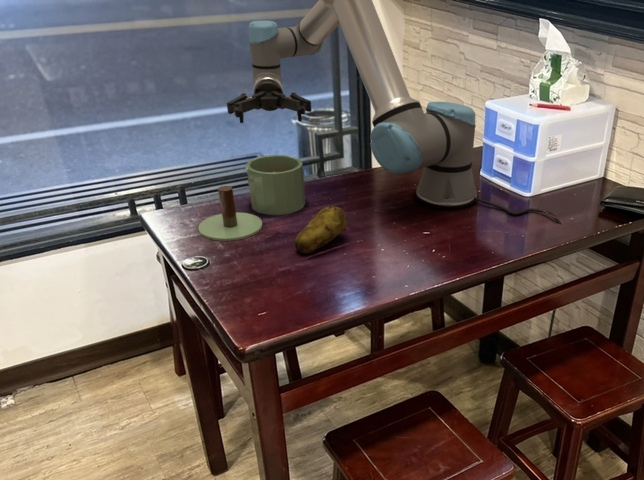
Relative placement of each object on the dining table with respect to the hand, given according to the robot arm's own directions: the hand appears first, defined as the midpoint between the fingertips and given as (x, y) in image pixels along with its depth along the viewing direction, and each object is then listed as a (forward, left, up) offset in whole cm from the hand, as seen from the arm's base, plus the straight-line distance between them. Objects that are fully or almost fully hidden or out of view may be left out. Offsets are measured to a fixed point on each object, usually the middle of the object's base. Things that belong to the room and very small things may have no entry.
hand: (270, 116), depth 145 cm
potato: (-32, +9, -19) cm, 38 cm away
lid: (-13, +20, -18) cm, 30 cm away
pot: (-8, +5, -19) cm, 21 cm away
